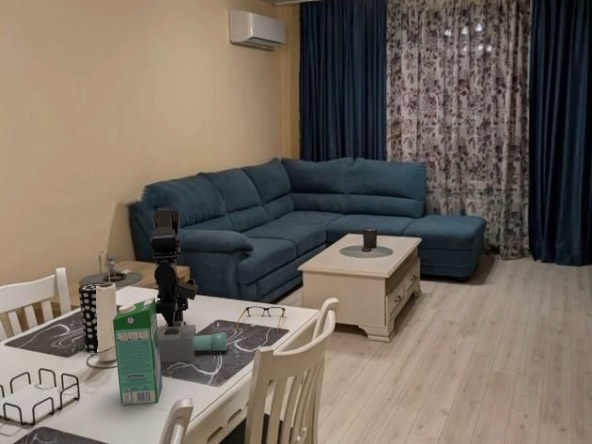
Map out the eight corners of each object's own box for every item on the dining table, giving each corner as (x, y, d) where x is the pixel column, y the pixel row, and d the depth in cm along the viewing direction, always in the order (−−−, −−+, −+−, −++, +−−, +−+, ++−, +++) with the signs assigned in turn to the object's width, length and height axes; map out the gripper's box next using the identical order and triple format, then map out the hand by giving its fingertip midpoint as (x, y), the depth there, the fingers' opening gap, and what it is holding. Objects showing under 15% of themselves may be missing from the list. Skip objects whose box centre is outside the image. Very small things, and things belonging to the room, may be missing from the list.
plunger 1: (167, 333, 169) (166, 328, 169) (178, 332, 169) (177, 328, 169) (165, 337, 166) (165, 332, 166) (176, 337, 166) (176, 332, 166)
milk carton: (128, 388, 151) (119, 299, 146) (162, 386, 152) (155, 297, 147) (121, 405, 142) (111, 311, 137) (157, 402, 143) (149, 308, 138)
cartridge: (158, 357, 169) (157, 340, 168) (161, 350, 174) (160, 334, 173) (225, 353, 170) (224, 336, 169) (226, 346, 175) (225, 330, 174)
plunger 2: (170, 326, 175) (169, 321, 175) (180, 325, 175) (180, 320, 175) (168, 330, 172) (168, 325, 171) (179, 329, 172) (178, 324, 172)
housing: (158, 348, 177) (155, 322, 175) (196, 345, 178) (195, 320, 176) (151, 363, 166) (149, 336, 164) (193, 360, 167) (191, 333, 165)
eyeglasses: (286, 317, 201) (285, 306, 200) (278, 333, 187) (277, 321, 186) (247, 316, 203) (246, 305, 203) (236, 331, 189) (235, 320, 189)
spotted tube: (104, 353, 174) (97, 291, 170) (79, 352, 176) (72, 290, 172) (117, 343, 182) (111, 283, 178) (94, 341, 184) (88, 282, 180)
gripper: (191, 283, 155) (195, 336, 158) (198, 265, 174) (201, 313, 176) (150, 285, 155) (155, 339, 157) (161, 267, 173) (165, 315, 176)
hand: (171, 326), depth 167 cm, fingers closed
